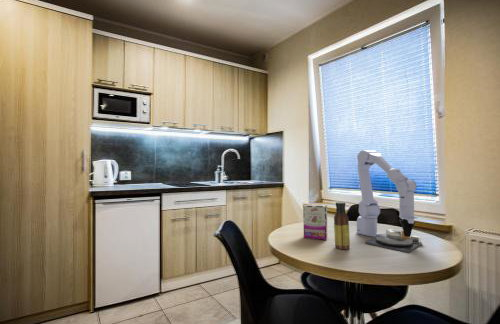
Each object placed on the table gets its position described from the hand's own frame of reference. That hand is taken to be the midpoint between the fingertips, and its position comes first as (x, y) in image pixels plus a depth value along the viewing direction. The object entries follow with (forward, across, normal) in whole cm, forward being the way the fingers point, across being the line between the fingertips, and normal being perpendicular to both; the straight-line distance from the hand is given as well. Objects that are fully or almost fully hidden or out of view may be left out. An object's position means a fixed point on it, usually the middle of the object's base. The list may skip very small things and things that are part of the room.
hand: (407, 236), depth 121 cm
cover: (+1, +1, +6) cm, 6 cm away
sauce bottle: (+4, -13, +28) cm, 31 cm away
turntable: (+3, 0, +5) cm, 6 cm away
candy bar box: (+4, 0, +40) cm, 41 cm away
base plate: (+4, 0, +6) cm, 7 cm away
